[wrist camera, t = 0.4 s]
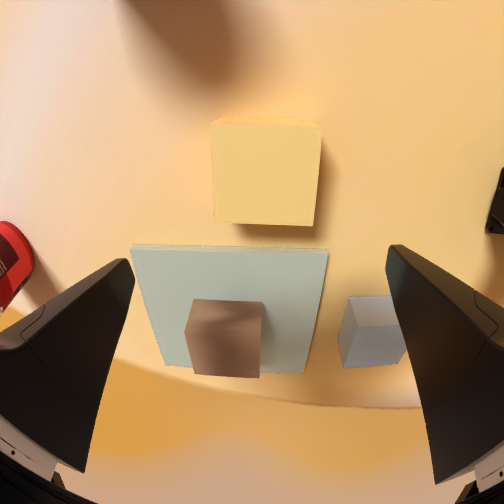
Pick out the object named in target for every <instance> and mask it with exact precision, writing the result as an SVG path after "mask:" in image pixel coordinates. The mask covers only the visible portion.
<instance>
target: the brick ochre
mask: <svg viewBox="0 0 504 504" xmlns="http://www.w3.org/2000/svg"><path fill="white" fill-rule="evenodd" d="M321 141H322V128H321V127H320V126H319V125H318V124H317V123H315V122H314V121H313V120H308V119H294V118H275V117H220V118H219V119H217V120H216V121H215V122H214V123H212V124H211V159H212V184H213V205H214V223H240V224H270V225H295V226H313V220H314V212H315V203H316V194H317V185H318V175H319V164H320V153H321Z"/></svg>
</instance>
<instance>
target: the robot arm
mask: <svg viewBox="0 0 504 504" xmlns="http://www.w3.org/2000/svg"><path fill="white" fill-rule="evenodd" d="M490 227H491V228H490ZM486 230H487V231H488V232H489V233H495V234H504V167H503V169H502V172H501V176H500V180H499V184H498V188H497V192H496V196H495V199H494V203H493V206H492V209H491V213H490V216H489V219H488V222H487V225H486ZM385 269H386V275H387V279H388V284H389V288H390V292H391V296H392V301H393V305H394V309H395V313H396V316H397V319H398V322H399V325H400V328H401V331H402V335H403V338H404V341H405V344H406V348H407V351H408V354H409V358H410V361H411V365H412V369H413V372H414V376H415V380H416V384H417V388H418V392H419V396H420V400H421V405H422V409H423V414H424V419H425V423H426V429H427V434H428V440H429V446H430V452H431V459H432V465H433V473H434V480H435V484H436V485H437V484H440V483H442V482H445V481H448V480H451V479H454V478H456V477H459V476H461V475H463V474H466V473H468V472H471V471H473V470H474V471H475V476H476V480H475V481H473V482H471V483H469V484H467V485H466V486H465V487H464V489H463V491H462V492H461V494H460V496H459V498H458V499H457V501H456V502H455V504H504V308H502V307H501V306H499V305H497V304H496V303H494V302H493V301H491V300H490V299H488V298H487V297H485V296H484V295H482V294H481V293H479V292H478V291H476V290H475V291H474V289H473V288H472V287H470V286H468V285H467V284H465V283H464V282H462V281H461V280H459V279H458V278H456V277H454V276H453V275H451V274H450V273H448V272H447V271H445V270H443V269H442V268H440V267H438V266H437V265H435V264H434V263H432V262H430V261H429V260H427V259H425V258H424V257H422V256H420V255H419V254H417V253H415V252H413V251H412V250H410V249H408V248H407V247H405V246H403V245H400V244H399V245H391V246H390V247H389V249H388V255H387V261H386V267H385ZM134 285H135V277H134V274H133V271H132V269H131V266H130V263H129V261H128V260H127V259H126V258H119V259H115V260H114V261H112V262H110V263H109V264H107V265H105V266H104V267H102V268H100V269H99V270H97V271H95V272H94V273H92V274H91V275H89V276H87V277H86V278H84V279H83V280H81V281H79V282H78V283H76V284H75V285H73V286H71V287H70V288H68V289H67V290H65V291H64V292H62V293H61V294H59V295H58V296H56V297H54V298H53V299H51V300H50V301H48V302H47V303H46V304H44V305H42V306H41V307H39V308H38V309H36V310H35V311H33V312H32V313H30V314H29V315H27V316H26V317H24V318H23V319H21V320H19V321H18V322H16V323H15V324H13V325H12V326H10V327H8V328H7V329H5V330H3V331H2V332H0V504H97V503H95V502H93V501H90V500H88V499H85V498H83V497H81V496H79V495H77V494H74V493H72V492H70V491H68V490H66V489H65V486H64V484H63V481H62V479H61V477H60V474H59V473H57V472H55V471H54V470H55V467H56V464H57V462H58V463H61V464H63V465H65V466H67V467H69V468H72V469H74V470H76V471H79V472H81V473H84V472H85V468H86V463H87V458H88V453H89V448H90V443H91V439H92V434H93V430H94V425H95V421H96V417H97V412H98V409H99V405H100V401H101V397H102V394H103V390H104V386H105V383H106V379H107V376H108V373H109V369H110V366H111V363H112V359H113V356H114V353H115V350H116V347H117V344H118V341H119V338H120V335H121V332H122V329H123V326H124V323H125V320H126V316H127V313H128V309H129V304H130V300H131V296H132V292H133V289H134Z"/></svg>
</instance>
